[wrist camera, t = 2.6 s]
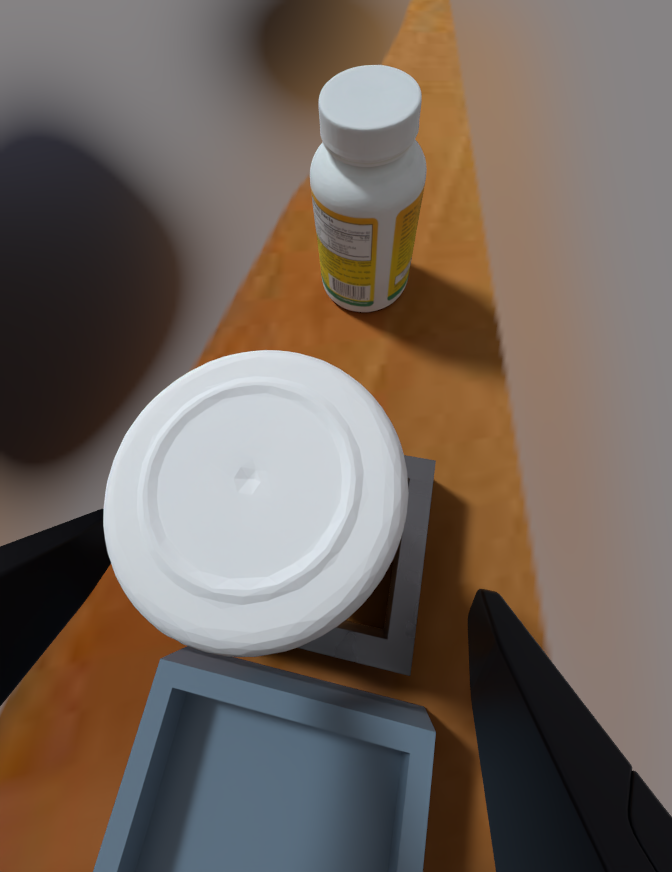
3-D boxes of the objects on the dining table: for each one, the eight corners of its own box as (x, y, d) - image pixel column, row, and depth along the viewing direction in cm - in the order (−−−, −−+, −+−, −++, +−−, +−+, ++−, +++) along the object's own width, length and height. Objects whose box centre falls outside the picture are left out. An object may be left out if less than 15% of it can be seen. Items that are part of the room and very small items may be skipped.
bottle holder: (402, 660, 16) (410, 676, 13) (221, 615, 17) (198, 623, 15) (426, 474, 18) (435, 460, 16) (268, 446, 20) (255, 429, 17)
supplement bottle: (337, 325, 22) (320, 157, 13) (313, 261, 24) (283, 74, 15) (421, 300, 22) (462, 117, 13) (391, 238, 24) (409, 40, 15)
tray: (384, 1088, 12) (390, 1217, 9) (92, 972, 13) (33, 1060, 11) (424, 706, 15) (435, 732, 13) (188, 645, 17) (160, 658, 14)
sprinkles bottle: (344, 478, 19) (311, 293, 6) (394, 559, 17) (485, 536, 5) (266, 525, 18) (50, 428, 6) (310, 612, 17) (152, 753, 4)
